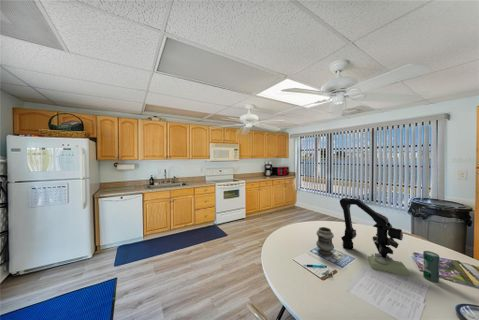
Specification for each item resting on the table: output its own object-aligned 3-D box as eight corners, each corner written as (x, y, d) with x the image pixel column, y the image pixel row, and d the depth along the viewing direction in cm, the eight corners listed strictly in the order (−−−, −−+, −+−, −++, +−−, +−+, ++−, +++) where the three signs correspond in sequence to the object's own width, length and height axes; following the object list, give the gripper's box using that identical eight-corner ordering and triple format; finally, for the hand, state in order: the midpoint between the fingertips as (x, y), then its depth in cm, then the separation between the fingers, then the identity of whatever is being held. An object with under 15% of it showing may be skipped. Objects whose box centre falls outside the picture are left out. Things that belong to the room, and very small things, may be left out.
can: (422, 273, 105) (422, 249, 105) (437, 278, 101) (437, 253, 101) (424, 279, 100) (424, 254, 100) (440, 284, 96) (440, 257, 96)
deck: (372, 268, 111) (372, 261, 110) (365, 256, 124) (365, 250, 124) (408, 275, 103) (408, 268, 103) (397, 262, 117) (397, 256, 117)
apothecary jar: (315, 254, 127) (315, 230, 127) (316, 246, 138) (316, 224, 138) (334, 258, 121) (334, 233, 121) (333, 250, 132) (333, 227, 132)
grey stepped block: (377, 261, 118) (377, 255, 118) (374, 257, 122) (374, 251, 122) (390, 264, 115) (390, 257, 115) (387, 260, 120) (387, 253, 120)
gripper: (403, 243, 107) (403, 267, 107) (391, 230, 124) (390, 251, 124) (381, 240, 111) (381, 263, 112) (372, 228, 128) (372, 248, 129)
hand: (381, 256), depth 119 cm, fingers open, 6 cm apart
